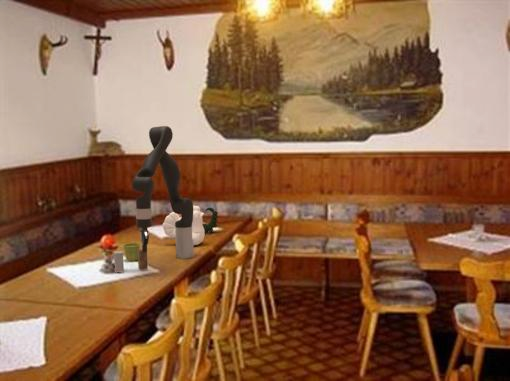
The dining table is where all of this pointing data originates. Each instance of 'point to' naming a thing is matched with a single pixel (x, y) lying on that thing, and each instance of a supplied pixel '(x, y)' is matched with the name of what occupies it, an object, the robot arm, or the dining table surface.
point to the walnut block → (142, 260)
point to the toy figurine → (213, 222)
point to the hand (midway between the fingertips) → (144, 251)
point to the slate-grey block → (118, 261)
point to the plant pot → (131, 251)
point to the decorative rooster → (196, 225)
